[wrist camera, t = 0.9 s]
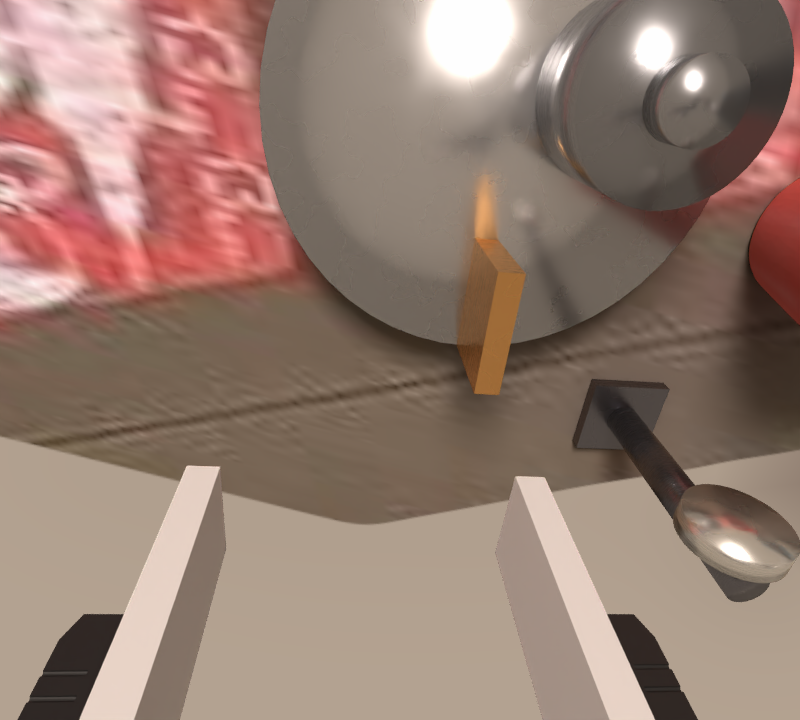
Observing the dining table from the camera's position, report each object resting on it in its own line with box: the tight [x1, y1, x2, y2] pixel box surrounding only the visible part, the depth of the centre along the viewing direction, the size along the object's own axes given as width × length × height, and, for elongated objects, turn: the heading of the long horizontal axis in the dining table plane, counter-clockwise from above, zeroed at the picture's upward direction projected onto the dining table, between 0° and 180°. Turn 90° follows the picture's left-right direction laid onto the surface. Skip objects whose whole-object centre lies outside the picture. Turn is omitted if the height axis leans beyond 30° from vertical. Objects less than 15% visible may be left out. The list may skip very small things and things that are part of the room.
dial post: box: [572, 379, 800, 602], centre depth 30 cm, size 5×5×14 cm
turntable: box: [259, 0, 710, 395], centre depth 23 cm, size 22×22×7 cm
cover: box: [535, 0, 794, 211], centre depth 21 cm, size 8×8×6 cm
